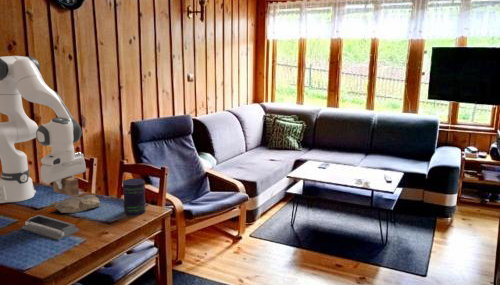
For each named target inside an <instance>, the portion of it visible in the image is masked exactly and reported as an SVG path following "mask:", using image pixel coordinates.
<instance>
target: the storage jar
mask: <svg viewBox="0 0 500 285" xmlns="http://www.w3.org/2000/svg"><path fill="white" fill-rule="evenodd" d="M122 192H123V199H124V200H123V208H124V209H123V210H124V215H126V216H129V217H135V216H141V215H144V214H145V213H146V211H147V210H146V206H147V203H146V198H145V197H146V196H145V193H146V184H145V179H142V178H137V177H136V178H133V177H132V178H127V179H125V180H123V181H122Z"/></svg>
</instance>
